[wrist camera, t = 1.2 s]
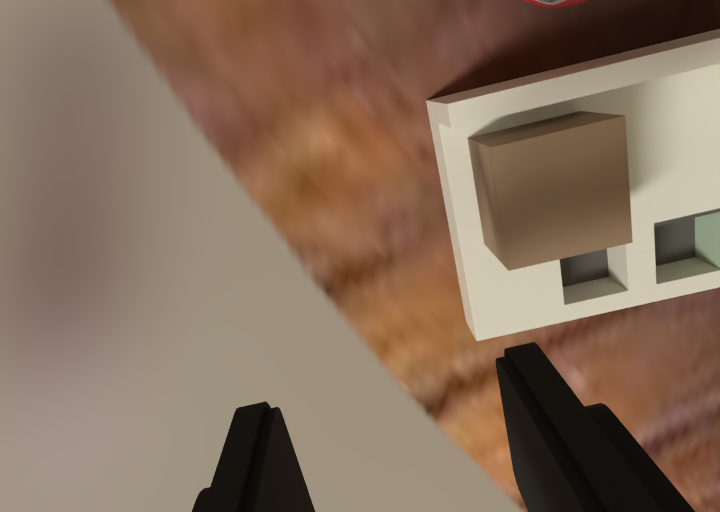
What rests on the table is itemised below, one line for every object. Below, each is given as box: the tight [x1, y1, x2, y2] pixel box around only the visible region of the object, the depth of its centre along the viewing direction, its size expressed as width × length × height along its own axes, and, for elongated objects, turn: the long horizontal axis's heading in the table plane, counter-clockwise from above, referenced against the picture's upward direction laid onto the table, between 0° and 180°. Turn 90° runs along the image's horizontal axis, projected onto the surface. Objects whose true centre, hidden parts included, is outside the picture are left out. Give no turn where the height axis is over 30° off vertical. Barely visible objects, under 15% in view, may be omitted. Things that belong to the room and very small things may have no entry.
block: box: [467, 111, 633, 271], centre depth 23 cm, size 6×6×4 cm
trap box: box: [426, 29, 720, 341], centre depth 25 cm, size 13×18×6 cm
